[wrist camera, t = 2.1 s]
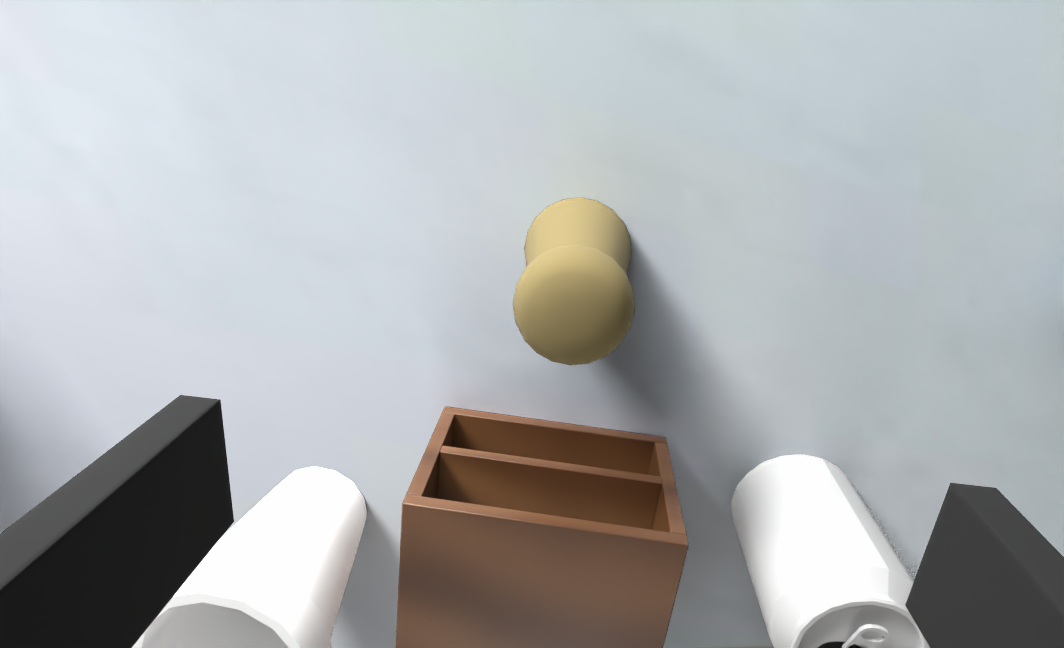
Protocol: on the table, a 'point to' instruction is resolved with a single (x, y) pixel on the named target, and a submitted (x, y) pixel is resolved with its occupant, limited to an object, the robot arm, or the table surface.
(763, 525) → the can
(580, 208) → the tan knobbed peg
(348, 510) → the foam cup
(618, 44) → the table surface
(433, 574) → the brown square box
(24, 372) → the table surface
